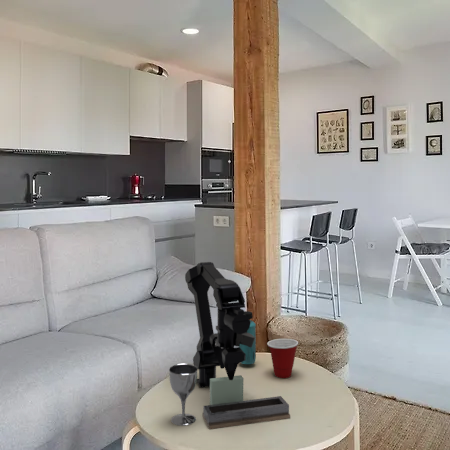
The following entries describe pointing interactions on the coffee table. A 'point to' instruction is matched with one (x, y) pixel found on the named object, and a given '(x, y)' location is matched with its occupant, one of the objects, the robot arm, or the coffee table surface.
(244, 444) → the coffee table surface
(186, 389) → the wine glass
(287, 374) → the plastic cup
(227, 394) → the pale green rectangular block
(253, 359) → the beverage bottle
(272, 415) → the grey long open box
